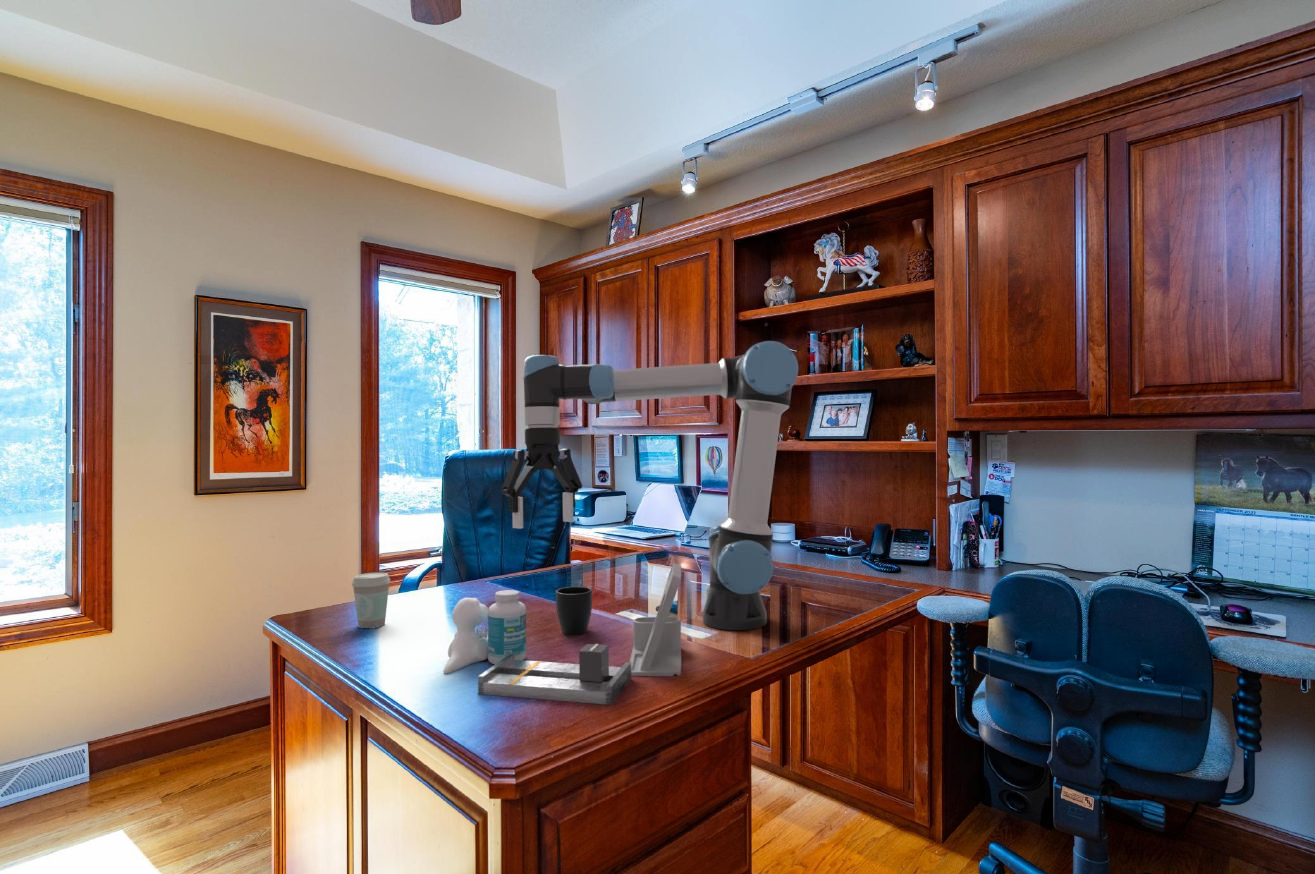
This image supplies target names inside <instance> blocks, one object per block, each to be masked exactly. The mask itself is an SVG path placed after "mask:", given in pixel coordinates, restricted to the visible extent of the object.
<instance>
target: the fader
mask: <svg viewBox="0 0 1315 874" xmlns="http://www.w3.org/2000/svg"><path fill="white" fill-rule="evenodd" d="M609 648H610V647H609V645H608V644H606V645H605V644H599V643H595V644H594V643H593V644H590V643H589V644H588V643H587V644H585V645H584V646H583V647H582V648H581V649H580V650H579V651H578V653H579V655H578V662H579V663H578V664H579V677H580V680H582V681H595V682H604V680H605V678H606V676H607V675H608V674H609V666H610V665H609V664H610V660H609V659H610V658H609V657H610V656H609V655H610V652H609Z"/></svg>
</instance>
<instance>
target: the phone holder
mask: <svg viewBox="0 0 1315 874" xmlns="http://www.w3.org/2000/svg"><path fill="white" fill-rule="evenodd" d="M681 579H682V564H678V563H675V562H673V564H672V566H671V568H670V571H669V573H668V577H667V580H666V584H665V587H664V590H663V593H662V596H661V599H660V604H659V607H658V611H657V614H656V615H655V616H643V617H642V616H641V617H637V618H635V619H634V620H633V623H632V624H633V646H632V652H631V655H630V658H629V662H631V677H633V676H634V677H674V675H677V676H680V675H681V674H682V624H681V623H682V621H681V619H680V618H679V617H674V616H669V615H670V612H671V608H672V606H673V603H674V602H675V601H674V600H675V598H676V595H677V592H678V588H679V585H680V582H681Z"/></svg>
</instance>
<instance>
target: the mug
mask: <svg viewBox="0 0 1315 874" xmlns="http://www.w3.org/2000/svg"><path fill="white" fill-rule="evenodd" d="M555 607H556V614H557V618H558V623H559V625H560V628H561V632H562V634H563V635H565V636H579V635H580V636H581V635H583V634H586V633H587V631H588V626H589V623H590V620H591V616H592V609H593V589H592V588H591V587H588V586H587V587H586V586H582V585H581V586H566V587H560V588H558V589H557V590H555Z"/></svg>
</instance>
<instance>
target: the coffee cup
mask: <svg viewBox="0 0 1315 874" xmlns="http://www.w3.org/2000/svg"><path fill="white" fill-rule="evenodd" d="M390 583H391V578H390V576H389V573H387V572H380V571H379V572H367V573H361V574H357V575H355V576H354V577H353V580H352V582H351V586H352V587H353V596H354V602H355V603H354V604H355V610H356V617H357V626H360V627H363V628H370V629H374V628H373V627H377V626H381V627H383V626H384V625H386V617H387V607H388V600H389V599H388V598H389V589H390ZM383 624H384V625H383ZM382 625H383V626H382ZM377 628H378V627H377Z"/></svg>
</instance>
